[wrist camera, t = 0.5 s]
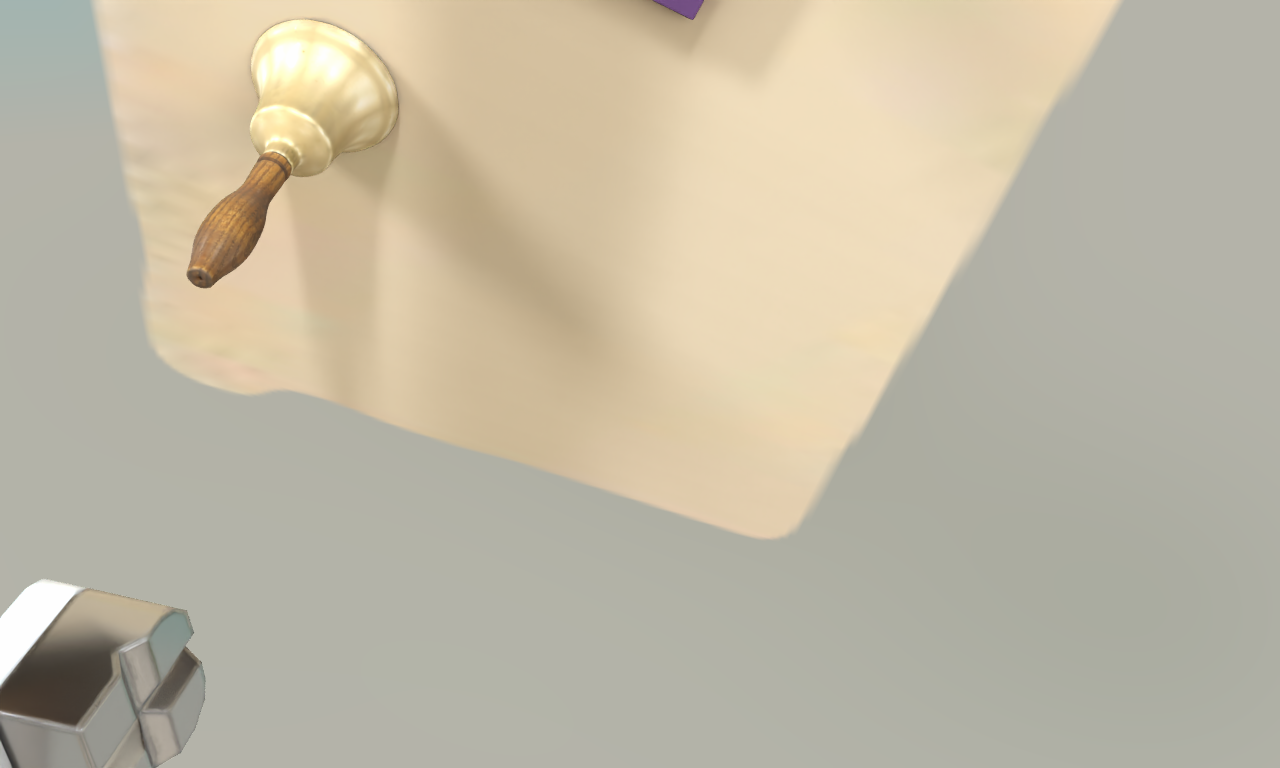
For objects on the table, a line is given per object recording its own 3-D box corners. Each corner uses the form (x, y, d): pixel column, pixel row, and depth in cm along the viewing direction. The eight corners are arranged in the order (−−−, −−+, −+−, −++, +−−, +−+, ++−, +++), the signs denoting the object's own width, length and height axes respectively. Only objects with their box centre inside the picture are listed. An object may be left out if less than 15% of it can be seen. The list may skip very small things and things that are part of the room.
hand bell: (305, 161, 69) (189, 354, 59) (222, 39, 64) (78, 226, 53) (425, 132, 66) (326, 330, 56) (350, 1, 61) (223, 192, 50)
